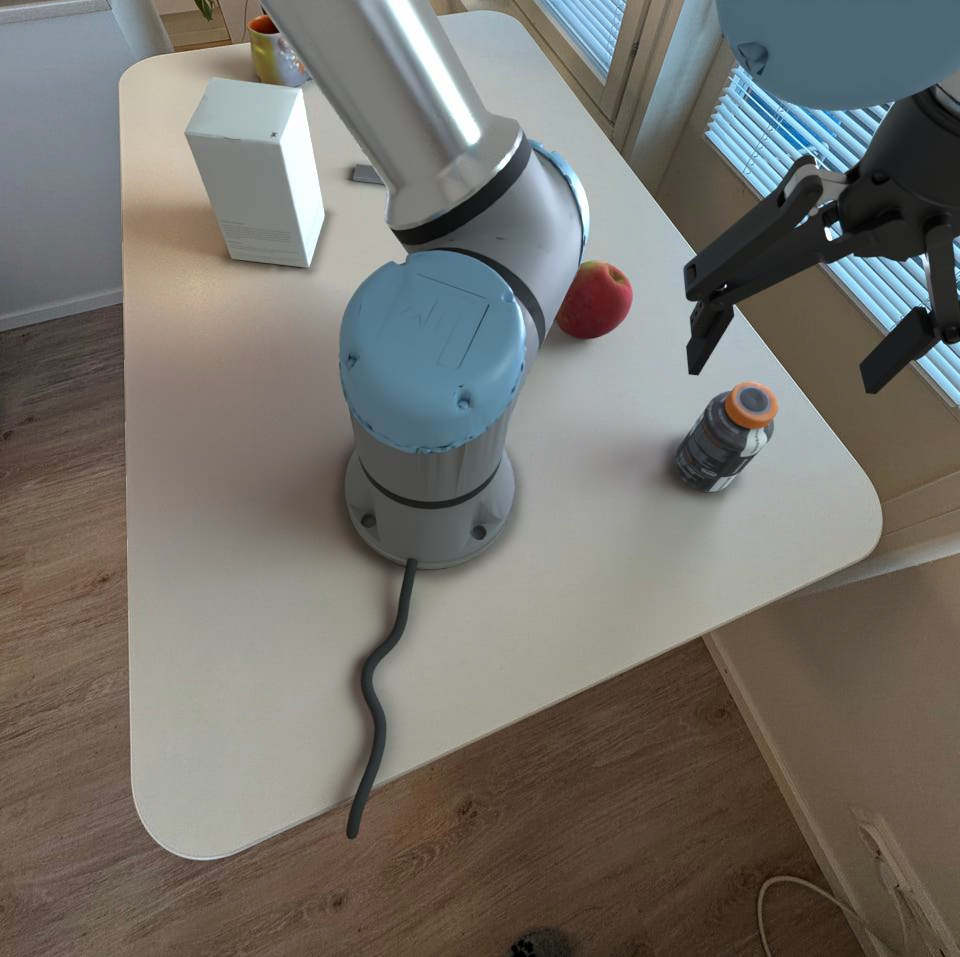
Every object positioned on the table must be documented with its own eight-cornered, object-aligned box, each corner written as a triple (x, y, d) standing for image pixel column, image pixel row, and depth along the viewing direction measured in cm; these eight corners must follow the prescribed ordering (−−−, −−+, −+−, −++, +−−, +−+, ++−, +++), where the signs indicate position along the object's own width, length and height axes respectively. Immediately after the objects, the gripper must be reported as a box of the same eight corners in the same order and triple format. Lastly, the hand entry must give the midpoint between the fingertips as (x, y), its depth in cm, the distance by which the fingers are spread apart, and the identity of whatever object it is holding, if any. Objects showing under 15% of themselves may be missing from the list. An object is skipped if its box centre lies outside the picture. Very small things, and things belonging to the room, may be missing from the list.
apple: (613, 362, 67) (635, 309, 60) (539, 343, 67) (552, 288, 60) (624, 310, 70) (646, 254, 63) (554, 292, 71) (568, 235, 64)
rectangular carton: (327, 214, 74) (305, 85, 61) (310, 270, 70) (282, 144, 57) (250, 204, 74) (210, 72, 61) (228, 259, 70) (181, 131, 56)
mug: (253, 90, 84) (239, 36, 78) (259, 60, 87) (247, 6, 81) (344, 95, 85) (338, 42, 79) (348, 65, 88) (342, 12, 82)
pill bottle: (738, 494, 61) (799, 432, 51) (677, 492, 60) (727, 430, 50) (726, 441, 63) (782, 372, 53) (668, 439, 63) (714, 369, 53)
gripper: (1219, 75, 32) (927, 349, 50) (727, 18, 31) (617, 315, 50) (1297, 173, 28) (952, 428, 47) (744, 110, 28) (619, 393, 46)
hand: (779, 370), depth 48 cm, fingers open, 13 cm apart
